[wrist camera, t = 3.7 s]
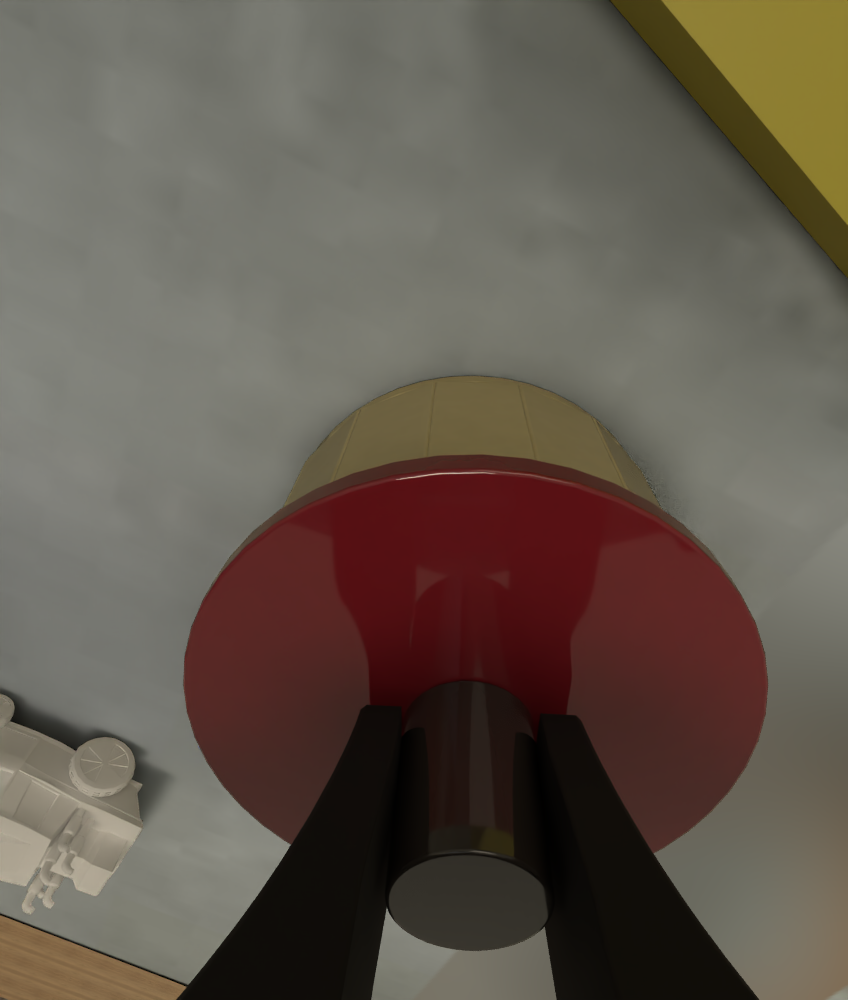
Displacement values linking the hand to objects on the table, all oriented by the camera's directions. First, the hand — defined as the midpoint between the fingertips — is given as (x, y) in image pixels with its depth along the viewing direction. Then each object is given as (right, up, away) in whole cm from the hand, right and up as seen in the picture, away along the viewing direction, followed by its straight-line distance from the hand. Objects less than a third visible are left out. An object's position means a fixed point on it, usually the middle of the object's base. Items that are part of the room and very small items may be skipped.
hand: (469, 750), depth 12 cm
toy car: (-14, -4, +11) cm, 18 cm away
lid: (0, +1, +1) cm, 1 cm away
